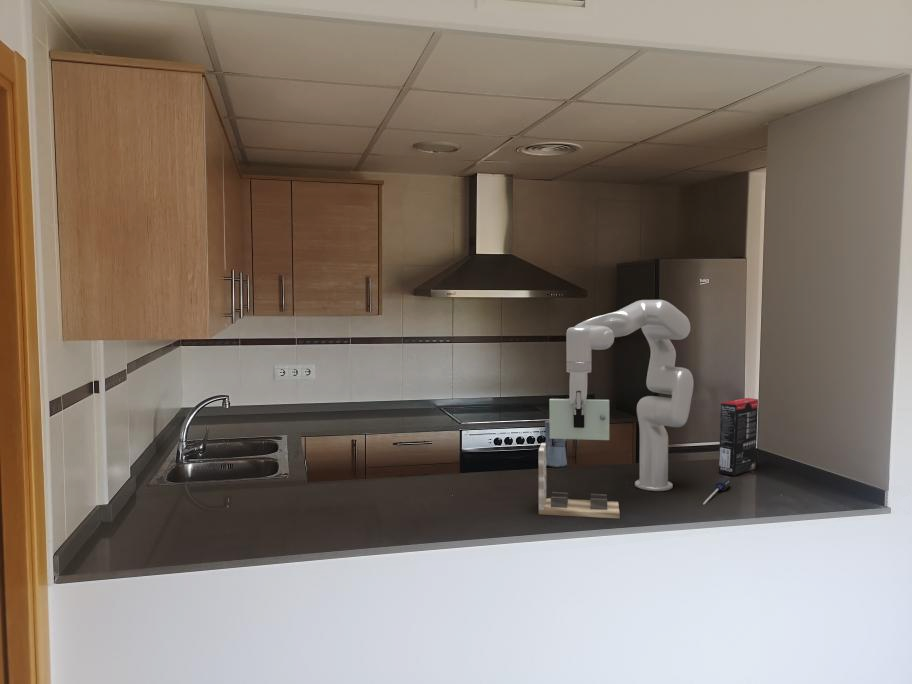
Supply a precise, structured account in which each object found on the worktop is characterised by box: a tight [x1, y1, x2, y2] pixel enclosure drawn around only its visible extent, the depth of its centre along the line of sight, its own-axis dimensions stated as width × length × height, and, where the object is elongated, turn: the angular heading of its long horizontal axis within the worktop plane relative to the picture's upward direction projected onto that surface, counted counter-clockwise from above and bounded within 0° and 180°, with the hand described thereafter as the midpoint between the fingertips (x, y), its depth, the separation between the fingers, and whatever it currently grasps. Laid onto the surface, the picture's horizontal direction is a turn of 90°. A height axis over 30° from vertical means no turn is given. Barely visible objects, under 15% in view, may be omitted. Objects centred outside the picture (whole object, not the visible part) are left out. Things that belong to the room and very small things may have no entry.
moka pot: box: [544, 419, 568, 468], centre depth 260 cm, size 10×15×20 cm, turn 164°
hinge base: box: [537, 442, 621, 520], centre depth 204 cm, size 12×24×20 cm, turn 78°
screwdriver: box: [702, 476, 732, 505], centre depth 219 cm, size 26×4×4 cm, turn 142°
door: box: [548, 398, 610, 441], centre depth 202 cm, size 4×18×12 cm, turn 78°
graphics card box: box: [718, 397, 759, 477], centre depth 247 cm, size 17×7×27 cm, turn 130°
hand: (579, 426), depth 203 cm, fingers closed on door, 2 cm apart
